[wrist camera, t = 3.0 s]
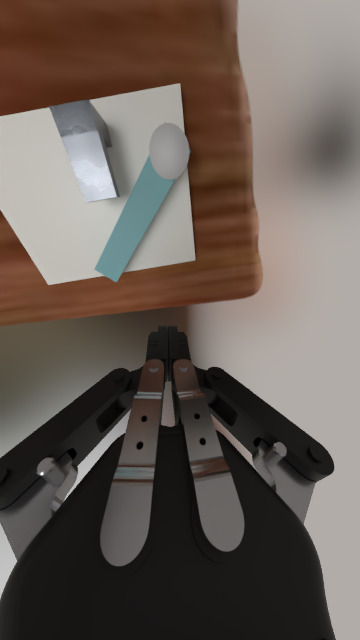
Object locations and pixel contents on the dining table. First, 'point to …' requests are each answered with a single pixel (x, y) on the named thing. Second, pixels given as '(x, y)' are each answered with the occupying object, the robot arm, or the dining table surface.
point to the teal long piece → (145, 197)
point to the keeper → (87, 148)
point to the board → (66, 196)
